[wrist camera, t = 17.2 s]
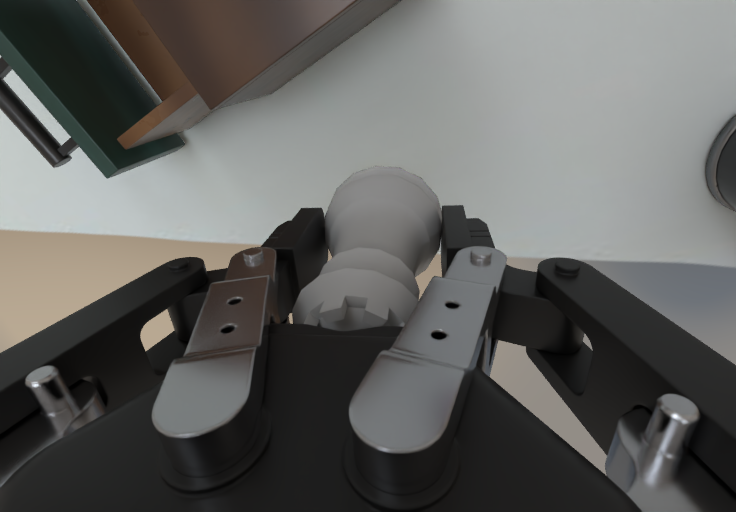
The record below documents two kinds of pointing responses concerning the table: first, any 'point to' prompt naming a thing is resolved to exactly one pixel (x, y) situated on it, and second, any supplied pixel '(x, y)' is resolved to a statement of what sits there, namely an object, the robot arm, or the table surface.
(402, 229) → the rook chess piece
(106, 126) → the drawer
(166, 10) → the cabinet
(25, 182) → the table surface
